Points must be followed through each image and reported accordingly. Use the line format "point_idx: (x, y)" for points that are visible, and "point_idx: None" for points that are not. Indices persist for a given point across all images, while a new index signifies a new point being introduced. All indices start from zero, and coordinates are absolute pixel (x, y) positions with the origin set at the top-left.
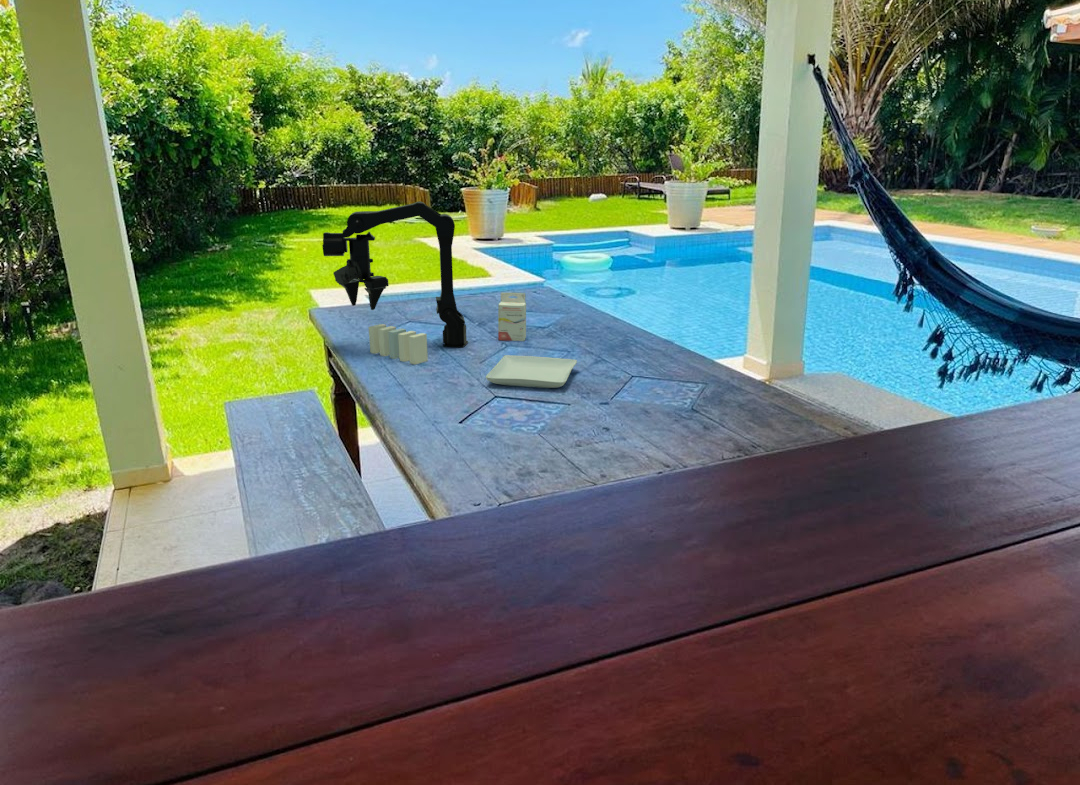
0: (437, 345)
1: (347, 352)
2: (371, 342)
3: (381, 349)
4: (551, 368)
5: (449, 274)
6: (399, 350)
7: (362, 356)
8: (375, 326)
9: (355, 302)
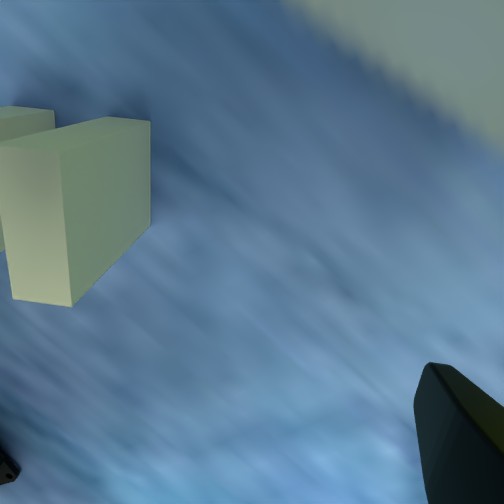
0: (7, 411)
1: (286, 28)
2: (99, 128)
3: (8, 112)
4: None
5: None
6: None
7: (115, 14)
8: (22, 203)
9: (423, 439)
